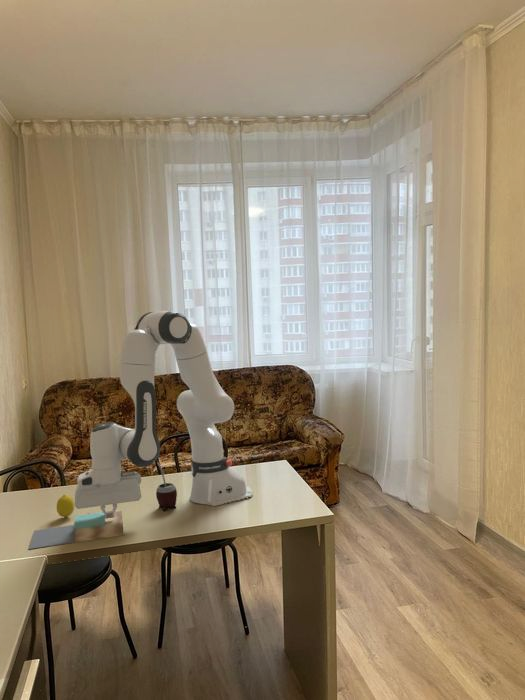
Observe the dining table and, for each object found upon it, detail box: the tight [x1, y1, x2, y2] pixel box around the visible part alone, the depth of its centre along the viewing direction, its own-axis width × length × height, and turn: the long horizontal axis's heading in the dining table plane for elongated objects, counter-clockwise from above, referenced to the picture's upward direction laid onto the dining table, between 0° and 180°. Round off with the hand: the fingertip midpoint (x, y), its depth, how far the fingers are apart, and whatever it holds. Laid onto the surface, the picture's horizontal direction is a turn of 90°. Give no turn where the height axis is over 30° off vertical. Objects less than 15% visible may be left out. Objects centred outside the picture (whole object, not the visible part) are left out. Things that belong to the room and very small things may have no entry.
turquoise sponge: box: [73, 511, 105, 529], centre depth 169 cm, size 9×6×2 cm, turn 107°
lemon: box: [56, 494, 75, 519], centre depth 181 cm, size 6×6×8 cm
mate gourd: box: [155, 461, 178, 512], centre depth 186 cm, size 8×8×15 cm
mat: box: [28, 524, 76, 550], centre depth 166 cm, size 13×14×1 cm
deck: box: [75, 510, 125, 543], centre depth 170 cm, size 14×14×2 cm
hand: (109, 517), depth 170 cm, fingers closed
